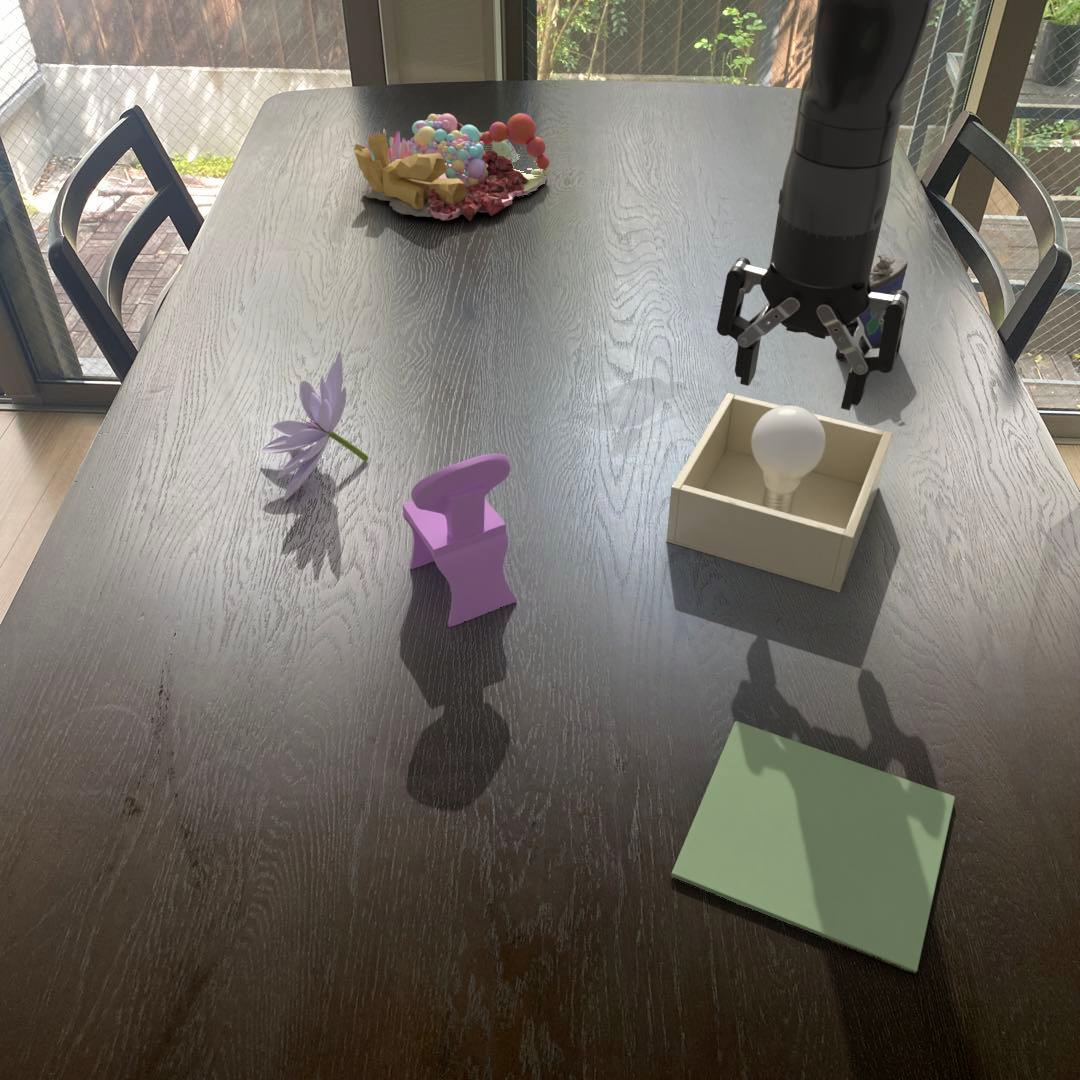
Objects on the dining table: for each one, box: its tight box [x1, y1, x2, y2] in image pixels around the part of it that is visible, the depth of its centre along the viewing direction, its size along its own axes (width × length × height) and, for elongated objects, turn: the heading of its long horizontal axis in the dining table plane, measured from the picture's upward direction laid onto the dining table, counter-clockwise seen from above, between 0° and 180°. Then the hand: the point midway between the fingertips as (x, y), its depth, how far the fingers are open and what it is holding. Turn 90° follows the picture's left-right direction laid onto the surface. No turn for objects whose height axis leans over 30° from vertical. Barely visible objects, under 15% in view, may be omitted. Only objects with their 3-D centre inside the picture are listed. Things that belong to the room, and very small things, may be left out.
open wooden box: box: [665, 392, 894, 593], centre depth 97 cm, size 16×16×6 cm
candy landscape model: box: [352, 112, 550, 222], centre depth 149 cm, size 25×24×9 cm
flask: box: [835, 253, 908, 363], centre depth 117 cm, size 9×3×11 cm, turn 133°
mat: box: [670, 720, 956, 972], centre depth 74 cm, size 16×14×1 cm
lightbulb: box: [751, 404, 826, 513], centre depth 95 cm, size 6×6×11 cm
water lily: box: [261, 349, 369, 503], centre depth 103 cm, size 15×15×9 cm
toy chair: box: [401, 453, 518, 628], centre depth 88 cm, size 8×9×15 cm
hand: (796, 392), depth 90 cm, fingers open, 8 cm apart
